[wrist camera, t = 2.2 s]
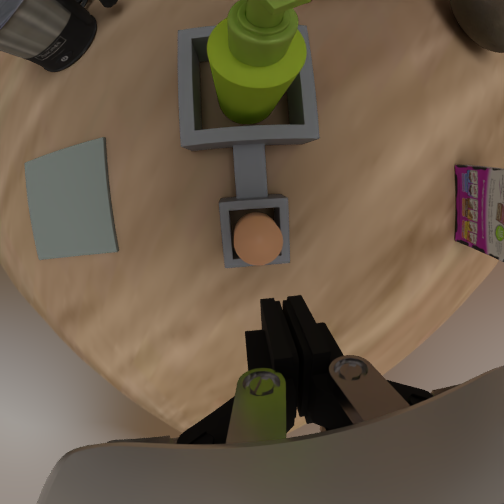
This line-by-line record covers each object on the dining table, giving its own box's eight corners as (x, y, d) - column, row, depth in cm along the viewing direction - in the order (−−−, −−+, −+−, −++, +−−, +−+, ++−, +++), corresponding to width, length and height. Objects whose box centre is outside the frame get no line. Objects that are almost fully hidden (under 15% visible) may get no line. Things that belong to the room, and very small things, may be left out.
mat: (27, 162, 24) (24, 163, 24) (105, 137, 25) (103, 137, 24) (41, 258, 28) (39, 259, 28) (118, 250, 29) (116, 251, 28)
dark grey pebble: (477, 15, 19) (526, -2, 4) (491, 71, 23) (551, 63, 8) (422, -22, 17) (470, -54, 3) (436, 34, 22) (502, 6, 7)
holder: (188, 54, 23) (177, 30, 17) (293, 49, 23) (306, 25, 17) (202, 257, 29) (195, 278, 24) (305, 248, 30) (322, 267, 24)
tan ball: (232, 213, 24) (231, 219, 21) (276, 210, 24) (282, 216, 22) (235, 256, 25) (235, 267, 23) (278, 252, 26) (283, 263, 23)
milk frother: (56, 85, 22) (-23, 60, 8) (22, 38, 18) (-36, 14, 3) (140, 6, 20) (96, -61, 6) (91, -28, 15) (51, -74, 1)
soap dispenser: (248, 58, 23) (271, -78, 4) (286, 105, 25) (378, 10, 6) (201, 86, 24) (151, -36, 5) (240, 135, 26) (254, 60, 7)
